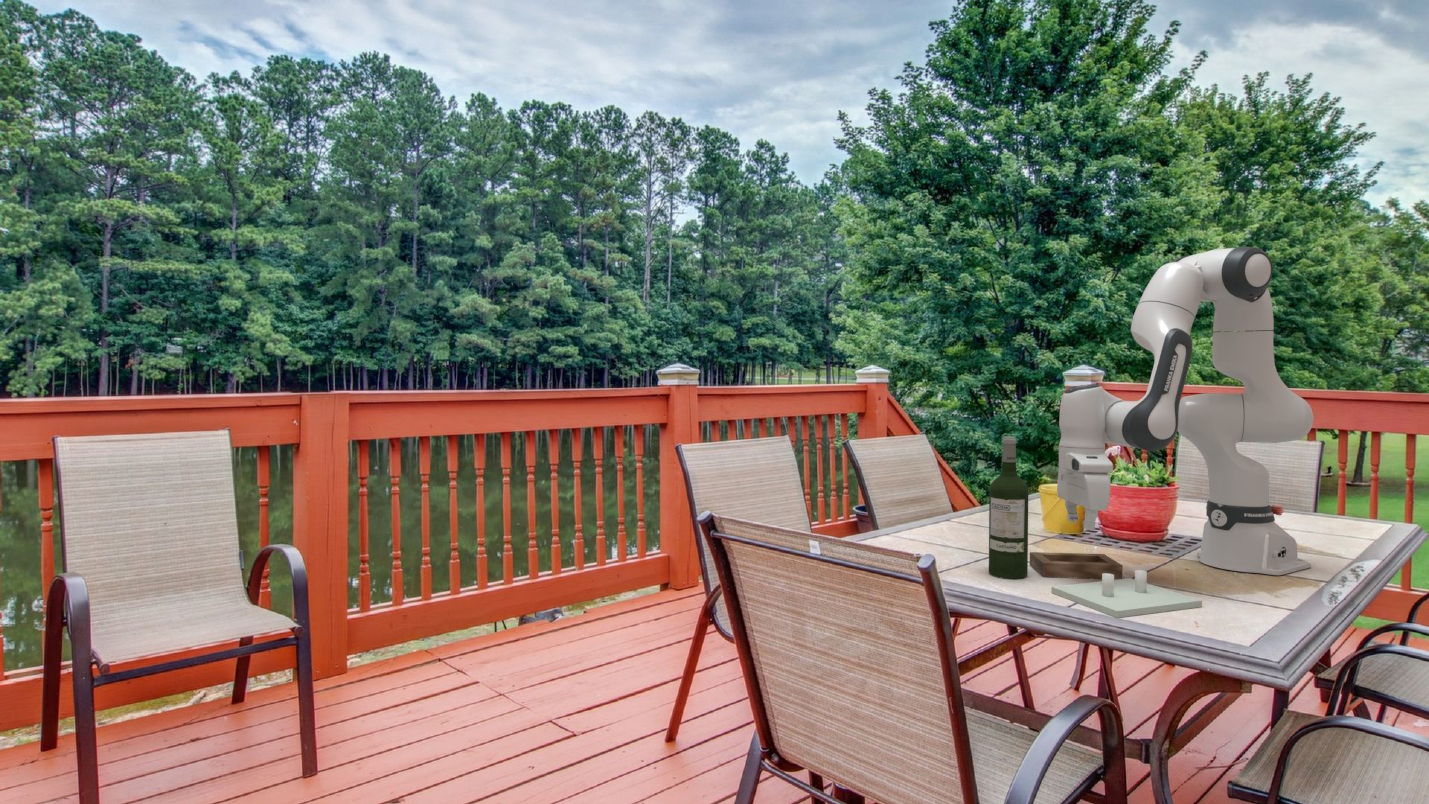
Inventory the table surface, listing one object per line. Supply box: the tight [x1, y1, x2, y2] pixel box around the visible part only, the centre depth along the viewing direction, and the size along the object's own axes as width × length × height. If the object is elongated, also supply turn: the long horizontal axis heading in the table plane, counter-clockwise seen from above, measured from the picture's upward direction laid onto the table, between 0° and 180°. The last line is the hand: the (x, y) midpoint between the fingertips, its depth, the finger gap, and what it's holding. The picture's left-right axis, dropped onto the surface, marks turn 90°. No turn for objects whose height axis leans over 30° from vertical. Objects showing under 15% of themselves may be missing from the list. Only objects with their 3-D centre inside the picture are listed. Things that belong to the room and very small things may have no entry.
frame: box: [1029, 551, 1124, 580], centre depth 163 cm, size 16×10×3 cm, turn 82°
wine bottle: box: [988, 436, 1029, 580], centre depth 160 cm, size 8×8×30 cm
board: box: [1051, 569, 1203, 619], centre depth 143 cm, size 20×16×5 cm
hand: (1080, 525), depth 158 cm, fingers open, 8 cm apart
